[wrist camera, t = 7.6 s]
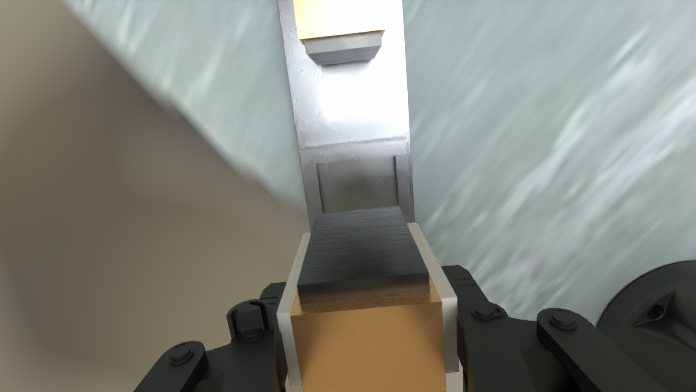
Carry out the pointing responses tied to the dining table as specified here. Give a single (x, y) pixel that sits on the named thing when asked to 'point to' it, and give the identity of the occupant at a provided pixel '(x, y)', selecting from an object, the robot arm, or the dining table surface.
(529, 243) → the dining table surface
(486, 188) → the dining table surface
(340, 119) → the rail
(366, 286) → the orange and grey block
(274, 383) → the robot arm
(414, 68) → the dining table surface
